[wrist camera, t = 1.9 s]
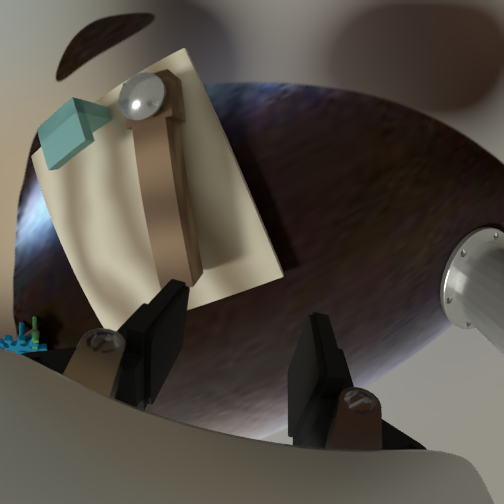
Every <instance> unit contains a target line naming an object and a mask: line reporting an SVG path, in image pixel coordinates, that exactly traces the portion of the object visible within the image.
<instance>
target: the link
mask: <svg viewBox="0 0 504 504" xmlns="http://www.w3.org/2000/svg"><path fill="white" fill-rule="evenodd" d="M153 74H155V75H156V76H158V77H159V78H161V79H162V80H163V82H164V84H165V86H166V99H165V102H164V104H163V110H159V112H158V113H157V114H155V115H154V116H153V117H151V118H149V119H146V120H143V121H136V120H132V119H129V118H127V117H126V116H125V124H126V129H130V130H133V139H134V148H135V156H136V163H137V171H138V177H139V184H140V190H141V196H142V202H143V208H144V214H145V219H146V224H147V229H148V234H149V239H150V244H151V249H152V254H153V258H154V263H155V267H156V271H157V276H158V280H159V284H160V288H161V289H162V288H163V287H164V286H165V285H166V284H167V283H168V282H169V281H170V280H171V279H175V280H179V281H183V282H186V286H188V287H194V285H195V284H196V283H197V281H198V280H199V278H200V277H201V276H202V274H203V268H202V262H201V257H200V252H199V246H198V241H197V235H196V229H195V224H194V218H193V212H192V206H191V200H190V193H189V187H188V180H187V174H186V167H185V160H184V153H183V145H182V138H181V130H180V123H184V122H186V118H185V110H184V101H183V92H182V83H181V80H180V79H179V78H178V77H177V76H175V75H174V74H173V73H172V72H171V71H170V70H168V69H166V70H162V71H159V72H156V73H153ZM124 84H125V83H123V86H124Z"/></svg>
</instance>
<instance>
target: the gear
mask: <svg viewBox="0 0 504 504" xmlns="http://www.w3.org/2000/svg"><path fill="white" fill-rule="evenodd" d="M39 337H40V332H39V331H38V330H37V317H33V329H31V330H30V331H29V332H27V333H26V334H25V323H23V322H20V330H19V335H18V340H17V341H12V336H10V335H5V342H6V343H5V342H4V340H3V339H1V338H0V348H2V349H6V350H10V351H12V352H15V353H18V354H21V355H22V354H24V353H28V352H36V351H47V345H46V344H40V345H39Z"/></svg>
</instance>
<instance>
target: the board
mask: <svg viewBox="0 0 504 504" xmlns="http://www.w3.org/2000/svg"><path fill="white" fill-rule="evenodd" d="M166 69H168V70H170V71H171V72H172V73H173V74H174V75H175V76H177V77H178V78H179V79H180V80H181V83H182V92H183V101H184V110H185V118H186V122H184V123H180V130H181V138H182V145H183V153H184V160H185V167H186V174H187V180H188V187H189V193H190V200H191V206H192V212H193V218H194V224H195V229H196V235H197V241H198V246H199V252H200V257H201V262H202V268H203V274H202V276H201V277H200V278H199V280H198V281H197V283H196V284H195V285H194V287H190V292H189V299H188V307H187V310H189V309H192V308H195V307H198V306H201V305H204V304H207V303H210V302H213V301H216V300H219V299H222V298H225V297H228V296H230V295H233V294H236V293H239V292H242V291H245V290H248V289H250V288H253V287H256V286H259V285H262V284H265V283H267V282H270V281H273V280H276V279H278V278H281V277H283V270H282V267H281V265H280V262H279V260H278V258H277V255H276V253H275V250H274V248H273V245H272V243H271V241H270V238H269V236H268V233H267V231H266V228H265V226H264V224H263V221H262V219H261V216H260V214H259V212H258V209H257V207H256V204H255V202H254V200H253V197H252V195H251V193H250V190H249V188H248V186H247V183H246V181H245V179H244V176H243V174H242V172H241V169H240V167H239V165H238V162H237V160H236V158H235V155H234V153H233V151H232V148H231V146H230V144H229V141H228V139H227V137H226V135H225V132H224V130H223V128H222V126H221V123H220V121H219V119H218V116H217V114H216V112H215V110H214V108H213V105H212V103H211V101H210V99H209V96H208V94H207V92H206V90H205V87H204V85H203V83H202V81H201V79H200V76H199V74H198V72H197V70H196V68H195V66H194V63H193V61H192V59H191V57H190V55H189V53H188V52H187V51H186V49H185V48H183V49H181V50H179V51H177V52H175V53H173V54H172V55H169V56H168V57H166V58H164V59H162V60H160V61H159V62H157V63H155V64H153V65H151V66H150V67H148V68H146V69H144V70H143V71H141V72H139V73H144V72H148V73H156V72H159V71H162V70H166ZM139 73H138V74H139ZM136 75H137V74H136ZM128 80H129V79H128ZM128 80H127V81H128ZM127 81H125V82H124V83H126V82H127ZM122 87H123V83H122V84H120V85H119V86H117V87H116V88H114V89H113V90H111V91H110V92H109V93H107V94H106V95H104V96H103V97H101V98H100V99H99V100H97V101H96V102H95V104H99V105H102V106H105V107H108V110H109V113H110V116H111V119H112V120H110V121H109V122H108V123H106V124H105V125H103V126H102V127H100V128H99V129H98V130H96V131H95V132H93V133H92V134H93V137H94V140H95V141H94V142H93V143H91V144H90V145H89V146H87V147H86V148H85V149H83V150H82V151H81V152H79V153H78V154H77V155H76V156H74V157H73V158H72V159H70V160H69V161H68V162H67V163H65V164H64V165H63V166H62V167H60V168H59V169H58V170H48V168H47V164H46V161H45V157H44V154H43V150H42V147H41V148H40V149H39V150H38V151H36V152H35V153H34V154H33V155H32V156H31V157H32V161H33V164H34V168H35V171H36V175H37V178H38V181H39V184H40V188H41V191H42V194H43V197H44V200H45V202H46V205H47V208H48V211H49V214H50V216H51V219H52V222H53V224H54V227H55V229H56V232H57V234H58V237H59V239H60V242H61V244H62V246H63V249H64V251H65V253H66V255H67V258H68V260H69V262H70V264H71V266H72V268H73V271H74V273H75V275H76V277H77V279H78V281H79V283H80V285H81V287H82V289H83V291H84V293H85V295H86V297H87V299H88V300H89V302H90V304H91V306H92V308H93V310H94V311H95V313H96V315H97V317H98V319H99V320H100V322H101V324H102V325H103V327H104V329H111V330H114V331H117V330H118V329H119V328H120V327H121V326H122V325H123V324H124V323H125V322H126V321H127V319H128V318H129V317H130V316H131V315H132V314H133V313H134V312H135V311H136V310H137V309H138V308H139V307H140V306H141V305H142V304H143V303H146V304H148V303H149V302H150V301H151V300H152V299H153V298H154V297H155V296H156V295H157V294H158V293H159V292H160V291H161V288H160V284H159V280H158V276H157V271H156V267H155V263H154V258H153V254H152V249H151V244H150V239H149V234H148V229H147V224H146V219H145V214H144V208H143V202H142V196H141V190H140V184H139V177H138V171H137V163H136V156H135V148H134V139H133V130H130V129H126V124H125V116H124V115H123V114H122V112H121V111H120V108H119V103H118V100H119V94H120V91H121V89H122Z"/></svg>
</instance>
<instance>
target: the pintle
mask: <svg viewBox="0 0 504 504" xmlns="http://www.w3.org/2000/svg"><path fill="white" fill-rule="evenodd" d="M165 99H166V86H165V84H164V82H163V80H162V79H161V78H159V77H158V76H156V75H155V74H153V73H148V72H144V73H139V74H137V75H135V76H133V77H131V78H130V79H129V80H128V81H127V82H126V83H125V84H124V86H123V87H122V89H121V91H120V94H119V100H118V103H119V108H120V111H121V112H122V114H123V115H124V116H126V117H127V118H129V119H132V120H136V121H143V120H146V119H149V118H151V117H153V116H154V115H155V114H157V113H158V112H159V110H163V104H164V102H165Z"/></svg>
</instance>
